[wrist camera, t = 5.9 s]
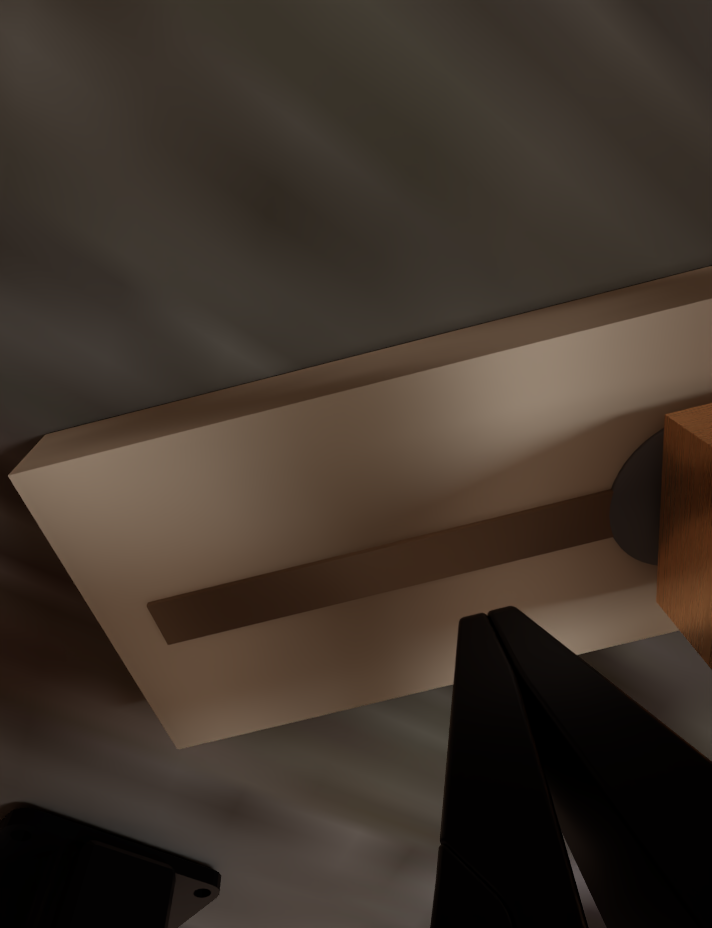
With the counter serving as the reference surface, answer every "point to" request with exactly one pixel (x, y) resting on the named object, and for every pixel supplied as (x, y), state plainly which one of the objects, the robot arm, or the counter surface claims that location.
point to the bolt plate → (380, 509)
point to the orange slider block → (687, 526)
